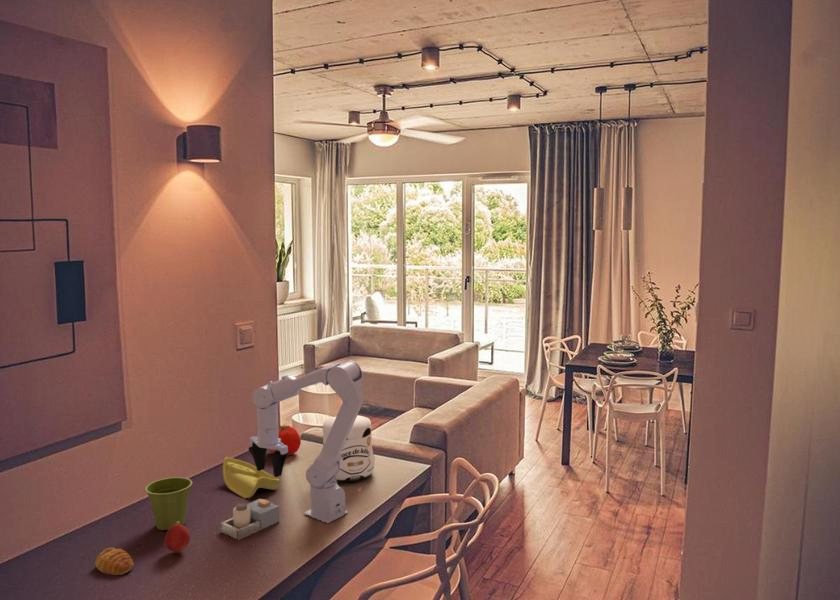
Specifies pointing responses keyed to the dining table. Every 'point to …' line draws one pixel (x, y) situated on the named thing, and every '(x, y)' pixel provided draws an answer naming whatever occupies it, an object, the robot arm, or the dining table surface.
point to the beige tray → (242, 532)
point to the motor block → (264, 512)
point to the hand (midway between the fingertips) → (269, 472)
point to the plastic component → (246, 478)
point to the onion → (177, 538)
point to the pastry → (114, 561)
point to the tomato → (289, 438)
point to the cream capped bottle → (241, 515)
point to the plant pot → (169, 500)
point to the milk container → (354, 450)
